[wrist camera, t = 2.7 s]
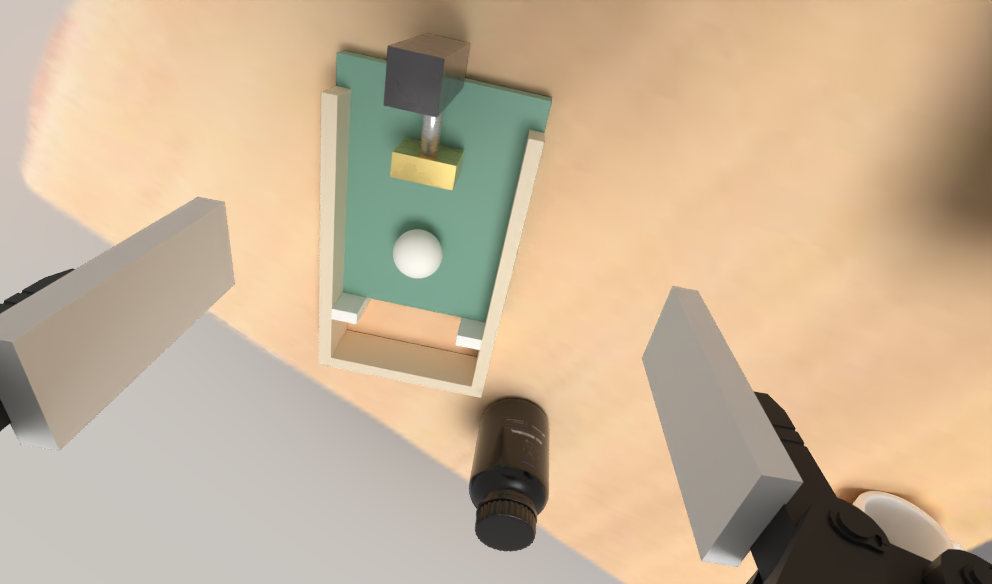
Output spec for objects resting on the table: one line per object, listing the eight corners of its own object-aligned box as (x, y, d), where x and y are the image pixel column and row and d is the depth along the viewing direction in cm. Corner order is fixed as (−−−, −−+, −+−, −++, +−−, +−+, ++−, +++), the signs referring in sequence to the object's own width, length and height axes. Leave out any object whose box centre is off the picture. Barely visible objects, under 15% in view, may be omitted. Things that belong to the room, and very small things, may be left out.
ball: (402, 217, 37) (389, 237, 33) (449, 227, 37) (440, 248, 34) (397, 259, 38) (385, 281, 35) (442, 268, 39) (434, 292, 35)
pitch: (344, 50, 32) (321, 56, 29) (551, 97, 33) (552, 109, 29) (335, 336, 45) (318, 364, 41) (485, 367, 45) (480, 397, 42)
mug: (798, 542, 55) (834, 619, 48) (840, 484, 49) (888, 562, 43) (905, 557, 54) (957, 637, 48) (959, 501, 49) (1026, 582, 42)
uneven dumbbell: (417, 30, 30) (372, 42, 22) (481, 45, 30) (459, 62, 22) (403, 160, 34) (362, 209, 26) (460, 173, 34) (436, 224, 26)
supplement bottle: (544, 392, 46) (544, 505, 36) (552, 443, 50) (555, 559, 39) (473, 398, 47) (454, 508, 37) (486, 447, 51) (472, 561, 40)
